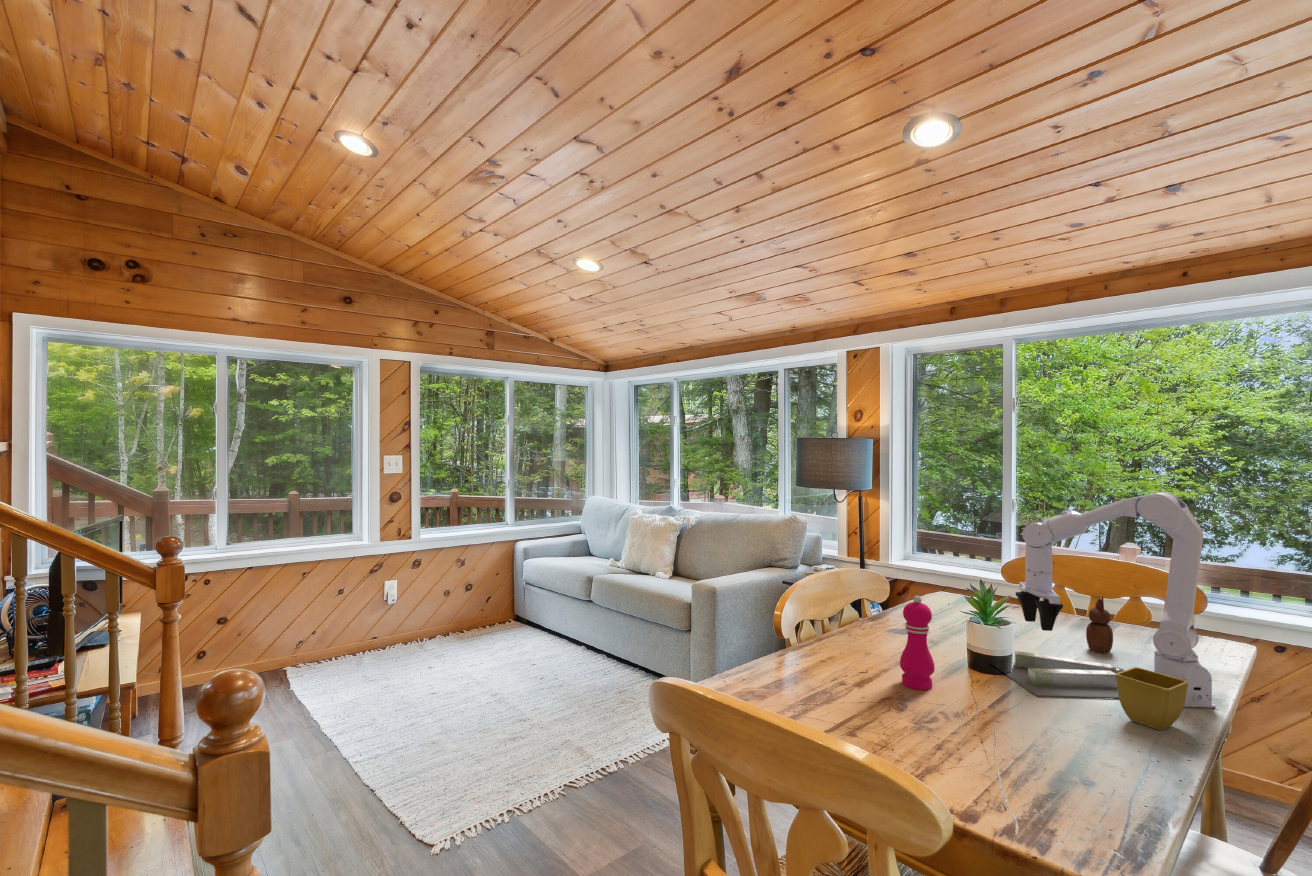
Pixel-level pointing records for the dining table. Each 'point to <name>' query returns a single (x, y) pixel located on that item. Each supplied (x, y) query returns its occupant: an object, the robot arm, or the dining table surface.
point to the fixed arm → (1072, 678)
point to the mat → (1060, 688)
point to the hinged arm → (1058, 663)
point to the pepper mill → (917, 647)
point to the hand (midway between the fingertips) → (1038, 625)
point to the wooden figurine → (1099, 629)
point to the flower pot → (1151, 697)
